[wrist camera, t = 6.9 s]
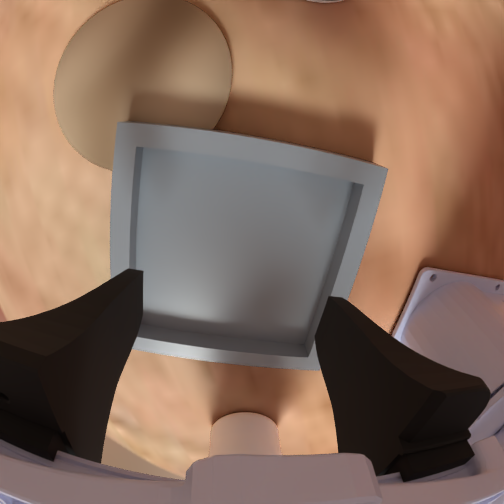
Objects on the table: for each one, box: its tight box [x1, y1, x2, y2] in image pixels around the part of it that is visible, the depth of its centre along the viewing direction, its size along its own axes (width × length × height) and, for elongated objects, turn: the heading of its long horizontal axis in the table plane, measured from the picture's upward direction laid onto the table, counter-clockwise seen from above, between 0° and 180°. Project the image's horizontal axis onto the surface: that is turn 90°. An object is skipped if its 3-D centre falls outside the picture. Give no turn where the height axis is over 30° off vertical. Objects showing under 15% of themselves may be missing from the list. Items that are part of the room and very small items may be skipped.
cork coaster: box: [53, 0, 232, 171], centre depth 12 cm, size 9×9×1 cm
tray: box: [110, 121, 388, 370], centre depth 16 cm, size 12×12×2 cm
